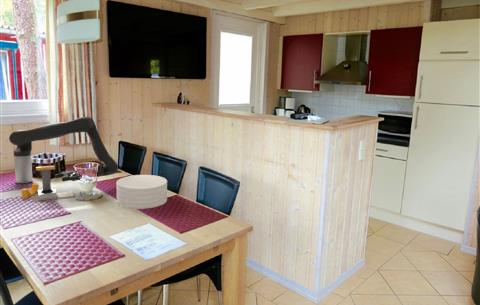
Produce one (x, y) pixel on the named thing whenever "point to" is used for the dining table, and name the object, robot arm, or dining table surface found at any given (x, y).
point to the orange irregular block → (30, 191)
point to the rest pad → (65, 194)
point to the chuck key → (46, 177)
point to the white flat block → (47, 195)
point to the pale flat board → (36, 199)
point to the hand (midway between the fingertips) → (58, 178)
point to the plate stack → (141, 191)
